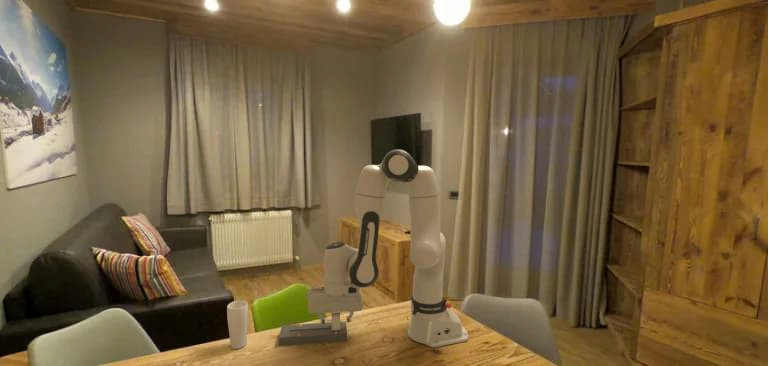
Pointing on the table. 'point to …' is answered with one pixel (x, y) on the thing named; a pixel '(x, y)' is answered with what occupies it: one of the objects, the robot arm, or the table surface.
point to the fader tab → (335, 320)
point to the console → (311, 333)
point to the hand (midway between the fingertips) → (335, 322)
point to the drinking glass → (237, 323)
